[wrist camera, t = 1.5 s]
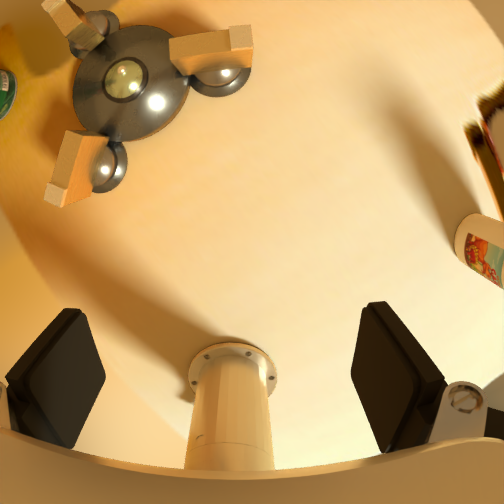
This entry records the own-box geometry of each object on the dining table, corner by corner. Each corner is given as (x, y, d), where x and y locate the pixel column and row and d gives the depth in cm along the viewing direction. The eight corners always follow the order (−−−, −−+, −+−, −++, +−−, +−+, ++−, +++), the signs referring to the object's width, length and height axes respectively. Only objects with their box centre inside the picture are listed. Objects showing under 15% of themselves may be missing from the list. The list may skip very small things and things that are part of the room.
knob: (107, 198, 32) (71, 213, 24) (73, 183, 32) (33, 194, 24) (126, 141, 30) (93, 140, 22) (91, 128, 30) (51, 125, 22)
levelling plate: (181, 229, 34) (174, 237, 31) (24, 161, 31) (8, 164, 27) (261, 52, 28) (263, 42, 25) (86, 8, 25) (75, -1, 21)
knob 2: (247, 42, 27) (249, 11, 19) (252, 84, 29) (255, 62, 21) (184, 50, 27) (166, 22, 19) (187, 92, 29) (169, 73, 21)
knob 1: (66, 33, 25) (31, 14, 17) (96, 5, 24) (66, -20, 16) (88, 63, 27) (51, 46, 19) (120, 34, 26) (90, 9, 18)
